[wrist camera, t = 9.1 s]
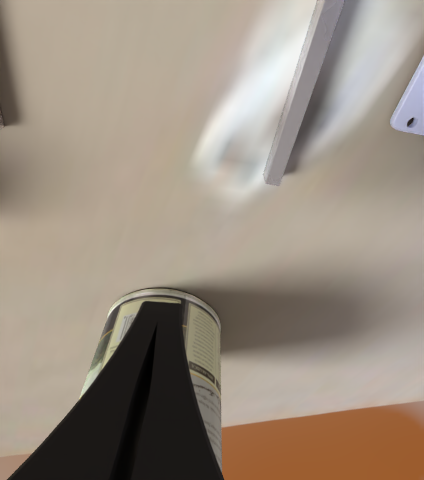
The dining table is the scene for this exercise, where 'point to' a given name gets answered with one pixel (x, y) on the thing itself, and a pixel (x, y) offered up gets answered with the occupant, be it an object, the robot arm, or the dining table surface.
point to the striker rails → (299, 86)
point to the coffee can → (196, 345)
